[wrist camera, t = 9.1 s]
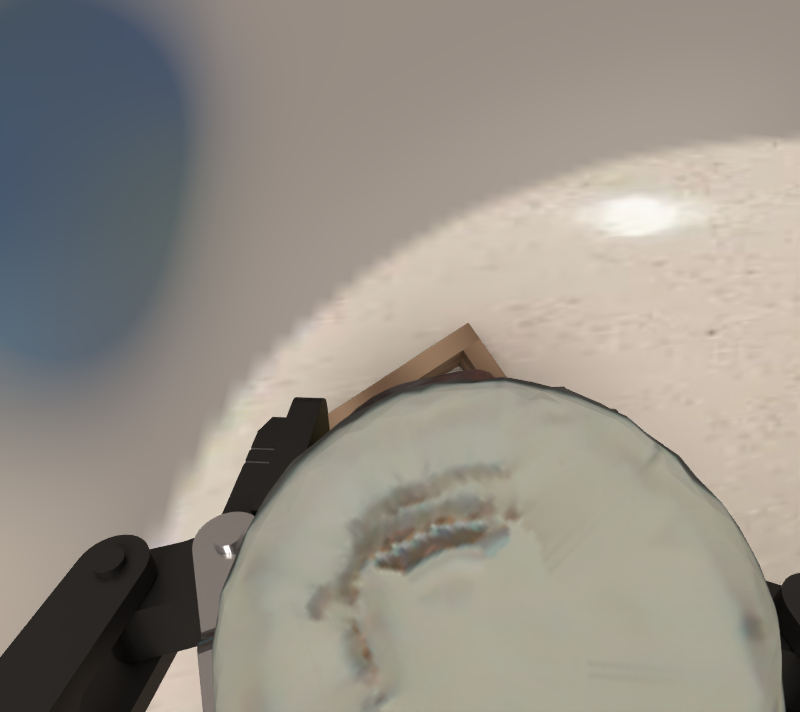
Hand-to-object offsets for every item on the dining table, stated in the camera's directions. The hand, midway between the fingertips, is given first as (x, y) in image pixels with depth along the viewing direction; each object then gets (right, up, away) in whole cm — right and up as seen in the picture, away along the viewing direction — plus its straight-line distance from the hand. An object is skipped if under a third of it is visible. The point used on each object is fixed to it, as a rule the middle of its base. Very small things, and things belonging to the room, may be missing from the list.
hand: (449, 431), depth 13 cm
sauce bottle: (+1, -4, +10) cm, 11 cm away
